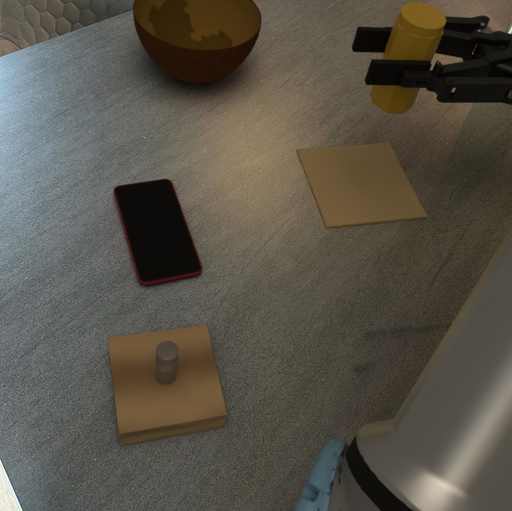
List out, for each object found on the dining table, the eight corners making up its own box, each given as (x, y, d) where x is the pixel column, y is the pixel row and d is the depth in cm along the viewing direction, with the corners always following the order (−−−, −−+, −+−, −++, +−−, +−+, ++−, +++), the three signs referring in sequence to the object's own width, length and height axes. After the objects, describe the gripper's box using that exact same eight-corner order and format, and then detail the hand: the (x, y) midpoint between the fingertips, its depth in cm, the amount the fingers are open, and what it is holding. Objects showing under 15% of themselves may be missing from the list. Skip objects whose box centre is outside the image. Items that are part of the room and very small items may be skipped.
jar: (413, 116, 72) (449, 31, 63) (372, 111, 71) (403, 25, 63) (408, 89, 75) (442, 5, 66) (369, 84, 74) (398, -1, 66)
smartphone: (139, 284, 68) (111, 185, 76) (139, 289, 69) (112, 190, 77) (204, 271, 71) (170, 177, 79) (203, 276, 71) (170, 182, 79)
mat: (426, 218, 82) (427, 216, 82) (326, 228, 79) (327, 226, 78) (388, 144, 90) (389, 142, 90) (296, 150, 86) (296, 148, 86)
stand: (224, 427, 61) (233, 391, 55) (120, 446, 59) (116, 411, 52) (204, 338, 67) (210, 297, 60) (109, 352, 64) (104, 310, 58)
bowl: (250, 117, 89) (260, 57, 81) (125, 102, 88) (123, 40, 80) (253, 45, 100) (262, -14, 92) (142, 30, 98) (141, -31, 91)
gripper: (571, 138, 70) (374, 139, 65) (508, 41, 80) (334, 36, 76) (610, 83, 64) (396, 80, 59) (536, -14, 74) (350, -23, 70)
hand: (362, 55), depth 67 cm, fingers closed on jar, 5 cm apart
